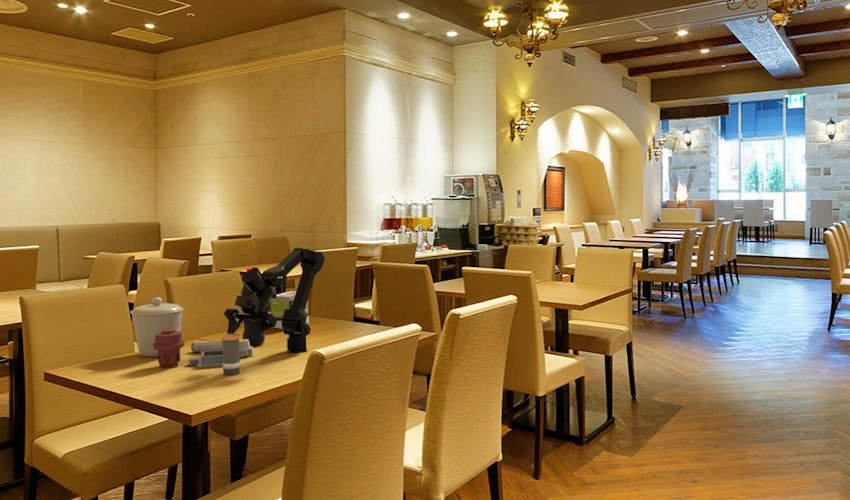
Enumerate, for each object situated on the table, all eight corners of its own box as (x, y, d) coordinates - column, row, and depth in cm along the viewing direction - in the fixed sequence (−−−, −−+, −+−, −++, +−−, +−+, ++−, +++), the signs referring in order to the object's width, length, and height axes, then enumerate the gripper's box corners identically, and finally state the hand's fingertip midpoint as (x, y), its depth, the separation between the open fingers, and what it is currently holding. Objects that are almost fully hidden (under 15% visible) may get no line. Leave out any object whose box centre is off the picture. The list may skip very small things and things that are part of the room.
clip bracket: (230, 358, 236) (230, 349, 235) (231, 365, 226) (230, 355, 226) (190, 361, 232) (190, 351, 231) (189, 368, 222) (188, 358, 222)
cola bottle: (238, 346, 256) (235, 268, 254) (251, 341, 264) (249, 266, 261) (256, 347, 253) (254, 269, 250) (269, 343, 260) (267, 267, 258)
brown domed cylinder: (240, 370, 219) (239, 332, 218) (240, 374, 214) (239, 336, 213) (222, 372, 217) (221, 334, 216) (222, 376, 212) (221, 337, 211)
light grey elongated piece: (198, 340, 250) (254, 335, 241) (201, 357, 250) (256, 353, 241) (189, 343, 245) (245, 338, 236) (191, 361, 245) (248, 356, 236)
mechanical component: (167, 361, 232) (191, 363, 229) (147, 368, 223) (171, 370, 220) (166, 326, 231) (190, 328, 228) (145, 332, 222) (170, 334, 219)
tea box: (290, 322, 304) (290, 290, 303) (309, 324, 300) (308, 291, 299) (270, 328, 291) (270, 295, 290) (290, 330, 287) (289, 296, 286)
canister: (173, 346, 256) (171, 292, 255) (193, 354, 243) (191, 297, 241) (124, 354, 244) (122, 297, 242) (142, 362, 231) (140, 302, 229)
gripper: (226, 284, 226) (203, 322, 217) (270, 287, 218) (248, 326, 209) (243, 304, 233) (221, 341, 224) (286, 307, 225) (265, 346, 216)
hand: (238, 338), depth 218 cm, fingers open, 9 cm apart
